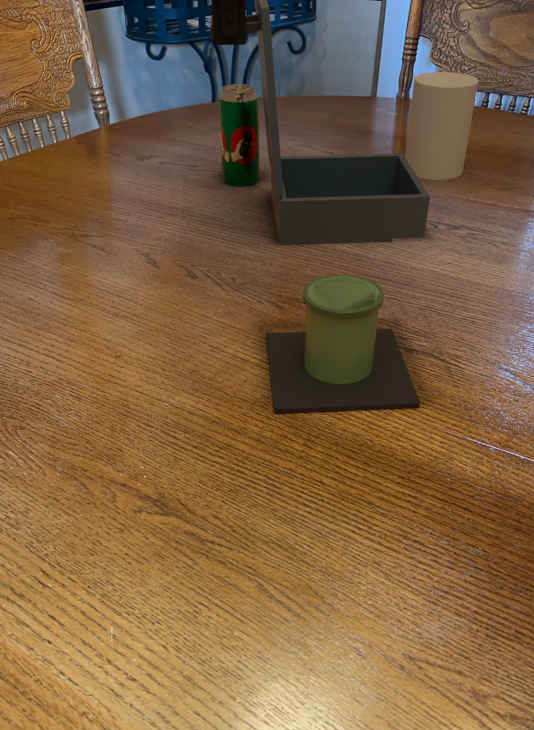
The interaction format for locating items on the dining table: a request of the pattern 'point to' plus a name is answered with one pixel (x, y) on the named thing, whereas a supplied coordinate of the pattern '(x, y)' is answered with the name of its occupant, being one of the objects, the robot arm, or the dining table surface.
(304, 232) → the grey storage tray
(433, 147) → the beige cylinder
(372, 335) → the pot
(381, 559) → the dining table surface
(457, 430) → the dining table surface
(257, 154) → the soda can
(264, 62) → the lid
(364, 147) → the dining table surface
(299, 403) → the plate
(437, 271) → the dining table surface
